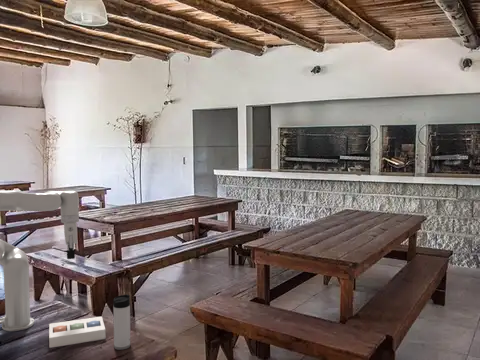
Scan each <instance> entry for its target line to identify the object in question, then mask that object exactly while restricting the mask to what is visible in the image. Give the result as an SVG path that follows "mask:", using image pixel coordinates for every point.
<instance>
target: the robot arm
mask: <svg viewBox="0 0 480 360" xmlns="http://www.w3.org/2000/svg"><path fill="white" fill-rule="evenodd" d="M79 203H80V202H79V193H78V192H77V191H75V190H64V191H61V190H60V191H59V190H58V191H57V190H56V191H55V190H47V191H45V192H44V193H30V192H23V191H19V190H15V189H14V190H0V211H1V212H2V211H3V212H4V211H5V212H12V211H13V212H14V211H16V212H19V211H20V212H53V211H56V210H58V209H59V208H60V223H62V224H63V230H64V231H63V232H64V240H65V245H66V246H67V247H66V248H67V249H66V259H67V260H74V259H75V258H76V257H75V256H76V254H75V253H76V251H75V244H76V245H78V225H77V223H79V222H80V213H79V211H80V207H79ZM0 265H1V266H2V268H3V283H4V284H3V285H4V286H3V287H4V288H3V289H4V304H5V305H4V306H5V307H4V309H5V311H4V312H5V316H2V317H0V325H1V329H2V330H3V331H5V332H6V331H7V332H17V331H23V330H26V329H29V328H31V327H32V326H34V324H35V319H34V318H33V317H31V299H30V297H31V296H30V295H31V294H30V264H29V259H28V255H27V254H26V252H25V251H23V250H22V249H20V248H18V247H16V246H15V245H12V244H11V243H9V242H7V241H5V240H3V239H1V238H0Z"/></svg>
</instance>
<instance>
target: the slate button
mask: <svg viewBox="0 0 480 360" xmlns="http://www.w3.org/2000/svg"><path fill="white" fill-rule="evenodd" d="M95 326H99V321H91V322H89V323H88V327H95Z"/></svg>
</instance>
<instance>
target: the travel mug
mask: <svg viewBox="0 0 480 360" xmlns="http://www.w3.org/2000/svg"><path fill="white" fill-rule="evenodd" d="M112 301H113V348H114V349H115V350H118V351H119V350H121V351H122V350H127V349H129V348H130V346H131V302H130V301H131V297H130V295H129V294H121V295H117V296H115V297H114V298H113V300H112Z"/></svg>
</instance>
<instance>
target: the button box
mask: <svg viewBox="0 0 480 360" xmlns="http://www.w3.org/2000/svg"><path fill="white" fill-rule="evenodd" d="M91 321H99V326H95V327H88V323H89V322H91ZM76 323H82V324H83V328H82V329H75V330H71V325H73V324H76ZM48 325H49V326H48V327H49V328H48V329H49V332H48V336H49V337H48V341H49V348H50V349H51V348H57V347H63V346H70V345H76V344H81V343H87V342H94V341H101V340H106V339H107V338H106V336H107V335H106V327H105V323H104V319H103V316H96V317H95V316H94V317H88V318H81V319H73V320H68V321H67V320H66V321H61V322H60V321H59V322H52V323H49V324H48ZM57 326H66V331H62V332H55V333H54V328H55V327H57Z"/></svg>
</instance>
